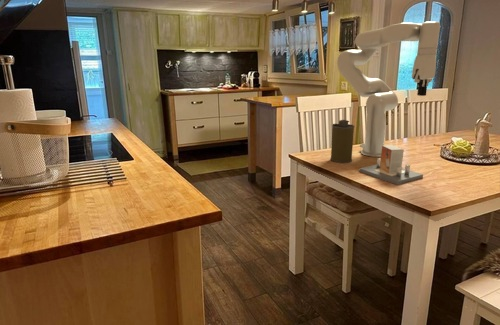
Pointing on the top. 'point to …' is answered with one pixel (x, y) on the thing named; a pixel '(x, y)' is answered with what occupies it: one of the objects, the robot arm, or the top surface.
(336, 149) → the canister
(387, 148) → the small box
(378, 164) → the guide pins
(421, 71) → the robot arm
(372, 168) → the pin board
